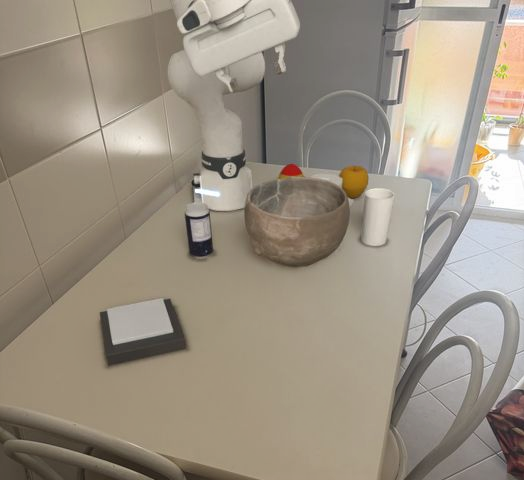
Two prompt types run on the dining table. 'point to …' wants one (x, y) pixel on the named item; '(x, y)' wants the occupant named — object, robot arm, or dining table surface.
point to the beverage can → (198, 230)
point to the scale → (140, 331)
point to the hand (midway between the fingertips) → (258, 81)
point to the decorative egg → (290, 171)
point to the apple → (354, 180)
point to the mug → (376, 216)
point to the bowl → (296, 219)
